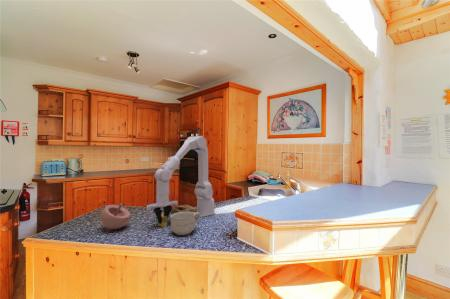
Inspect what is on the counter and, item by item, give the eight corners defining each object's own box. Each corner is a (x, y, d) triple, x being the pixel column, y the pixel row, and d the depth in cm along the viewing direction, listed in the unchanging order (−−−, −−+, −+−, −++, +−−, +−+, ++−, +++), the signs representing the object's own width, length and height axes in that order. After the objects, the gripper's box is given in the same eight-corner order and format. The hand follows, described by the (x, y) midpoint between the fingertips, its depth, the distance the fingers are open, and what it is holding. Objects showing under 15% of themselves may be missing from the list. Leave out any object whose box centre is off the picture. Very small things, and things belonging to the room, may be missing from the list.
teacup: (173, 239, 83) (173, 219, 83) (167, 230, 92) (167, 212, 92) (205, 233, 89) (206, 215, 89) (197, 225, 99) (197, 208, 99)
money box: (186, 216, 112) (186, 204, 112) (196, 221, 104) (196, 208, 104) (170, 219, 106) (170, 207, 106) (179, 225, 98) (180, 211, 98)
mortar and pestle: (123, 233, 88) (124, 206, 88) (94, 234, 87) (95, 207, 88) (134, 223, 100) (134, 200, 100) (108, 224, 99) (109, 200, 100)
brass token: (162, 223, 101) (162, 213, 101) (167, 226, 97) (167, 215, 97) (157, 224, 99) (158, 214, 99) (162, 227, 95) (162, 216, 95)
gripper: (173, 190, 106) (172, 217, 106) (144, 194, 97) (144, 223, 97) (179, 193, 100) (179, 221, 100) (149, 197, 91) (149, 227, 91)
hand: (162, 222), depth 98 cm, fingers closed on brass token, 2 cm apart
